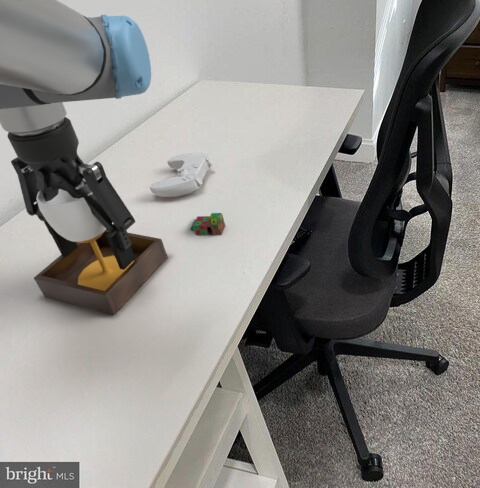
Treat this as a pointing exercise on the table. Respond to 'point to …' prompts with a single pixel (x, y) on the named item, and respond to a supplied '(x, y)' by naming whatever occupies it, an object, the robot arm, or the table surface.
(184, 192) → the game controller
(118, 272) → the cup
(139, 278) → the holder
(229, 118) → the table surface
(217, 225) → the block
